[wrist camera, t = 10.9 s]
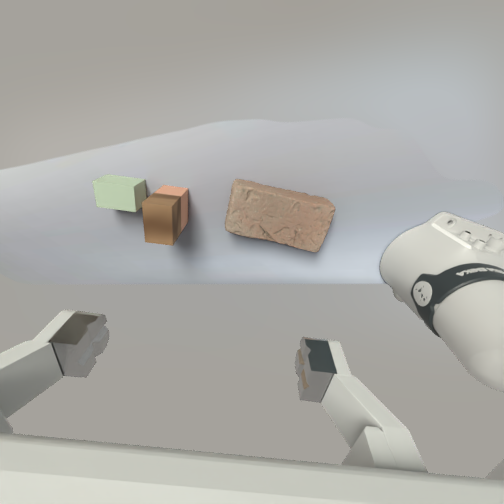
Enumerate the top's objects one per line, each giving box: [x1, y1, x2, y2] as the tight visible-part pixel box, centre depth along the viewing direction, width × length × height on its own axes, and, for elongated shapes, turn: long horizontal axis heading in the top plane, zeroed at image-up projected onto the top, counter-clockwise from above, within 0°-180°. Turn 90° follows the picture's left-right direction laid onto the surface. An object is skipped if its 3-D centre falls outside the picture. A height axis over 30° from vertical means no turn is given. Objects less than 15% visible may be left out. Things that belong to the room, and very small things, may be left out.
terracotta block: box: [155, 185, 188, 232], centre depth 42 cm, size 6×4×4 cm, turn 173°
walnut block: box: [142, 193, 181, 245], centre depth 38 cm, size 6×4×4 cm, turn 173°
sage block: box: [92, 174, 147, 212], centre depth 41 cm, size 6×4×4 cm, turn 83°
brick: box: [225, 179, 335, 252], centre depth 42 cm, size 17×8×5 cm, turn 78°
